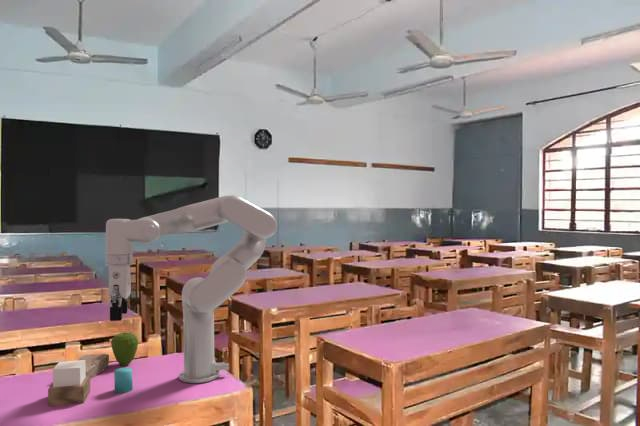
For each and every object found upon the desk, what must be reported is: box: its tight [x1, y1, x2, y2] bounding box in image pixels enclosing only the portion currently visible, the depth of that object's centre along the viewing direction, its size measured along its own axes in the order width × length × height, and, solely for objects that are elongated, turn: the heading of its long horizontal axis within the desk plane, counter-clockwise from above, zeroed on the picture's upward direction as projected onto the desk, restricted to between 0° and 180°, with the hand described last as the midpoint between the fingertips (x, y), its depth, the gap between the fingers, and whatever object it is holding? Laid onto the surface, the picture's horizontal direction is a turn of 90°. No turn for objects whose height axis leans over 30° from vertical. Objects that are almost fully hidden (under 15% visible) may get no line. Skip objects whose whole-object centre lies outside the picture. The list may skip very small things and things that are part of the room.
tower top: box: [52, 359, 86, 387], centre depth 144 cm, size 7×7×5 cm
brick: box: [77, 353, 110, 380], centre depth 165 cm, size 17×8×5 cm, turn 178°
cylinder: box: [113, 366, 134, 394], centre depth 150 cm, size 5×5×6 cm
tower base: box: [47, 376, 91, 407], centre depth 144 cm, size 9×9×5 cm
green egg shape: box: [110, 331, 139, 366], centre depth 174 cm, size 9×8×12 cm
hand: (118, 317), depth 151 cm, fingers open, 9 cm apart
